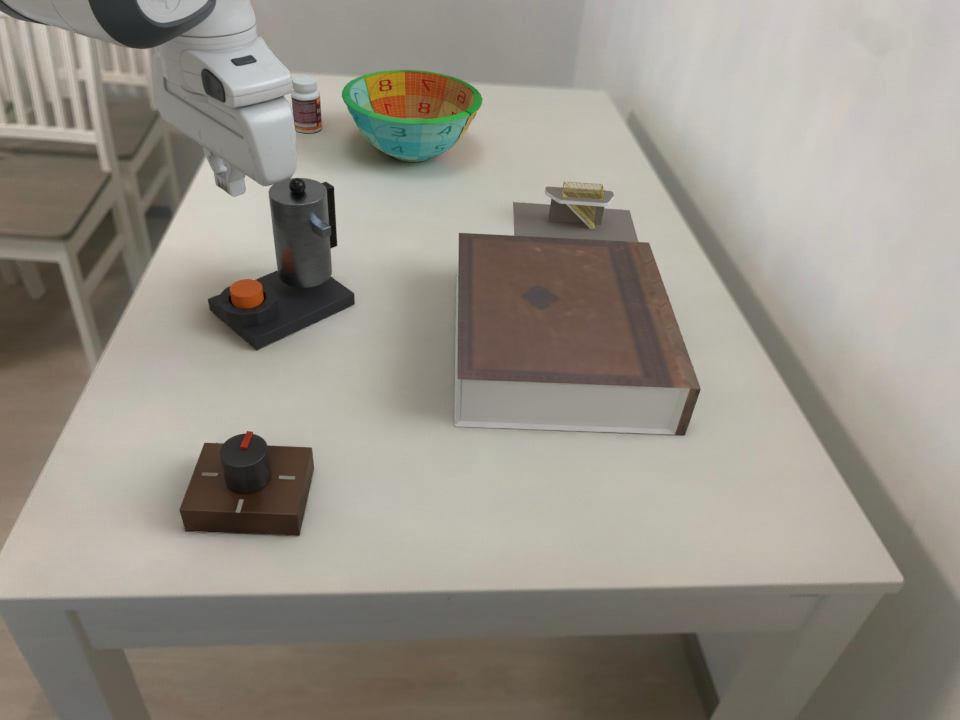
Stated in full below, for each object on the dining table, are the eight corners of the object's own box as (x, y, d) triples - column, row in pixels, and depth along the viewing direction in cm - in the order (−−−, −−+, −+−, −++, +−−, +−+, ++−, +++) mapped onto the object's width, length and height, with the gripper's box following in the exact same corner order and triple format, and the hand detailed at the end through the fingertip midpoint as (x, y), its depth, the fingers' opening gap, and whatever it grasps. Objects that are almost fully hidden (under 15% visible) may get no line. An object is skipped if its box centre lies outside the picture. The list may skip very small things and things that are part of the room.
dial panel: (184, 532, 67) (178, 509, 65) (209, 463, 74) (204, 440, 72) (299, 537, 68) (296, 514, 66) (314, 467, 74) (312, 445, 72)
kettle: (308, 301, 89) (299, 205, 81) (267, 271, 93) (255, 176, 85) (360, 278, 93) (357, 184, 85) (319, 250, 97) (312, 157, 89)
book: (638, 284, 103) (649, 242, 98) (685, 434, 81) (700, 389, 77) (456, 276, 101) (458, 232, 97) (454, 426, 80) (457, 379, 76)
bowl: (316, 148, 127) (312, 88, 121) (413, 114, 141) (414, 59, 134) (409, 198, 117) (410, 135, 110) (505, 156, 130) (511, 98, 124)
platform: (641, 251, 109) (651, 210, 105) (515, 242, 109) (520, 201, 104) (629, 210, 119) (638, 170, 114) (513, 202, 118) (517, 162, 114)
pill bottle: (324, 132, 132) (321, 84, 127) (297, 135, 131) (292, 86, 125) (318, 121, 136) (315, 73, 130) (291, 123, 134) (287, 75, 129)
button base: (250, 353, 86) (246, 328, 84) (203, 312, 91) (199, 288, 89) (354, 304, 95) (354, 280, 93) (306, 269, 100) (304, 246, 98)
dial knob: (264, 495, 67) (259, 466, 65) (219, 491, 67) (212, 461, 65) (276, 462, 70) (272, 432, 68) (233, 457, 70) (227, 428, 68)
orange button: (242, 313, 87) (240, 300, 86) (225, 299, 89) (223, 286, 88) (270, 301, 89) (268, 289, 88) (252, 287, 91) (250, 275, 90)
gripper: (124, 29, 74) (153, 162, 83) (240, 96, 64) (259, 239, 73) (184, 19, 78) (206, 147, 87) (303, 80, 68) (314, 219, 77)
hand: (231, 190), depth 80 cm, fingers closed
